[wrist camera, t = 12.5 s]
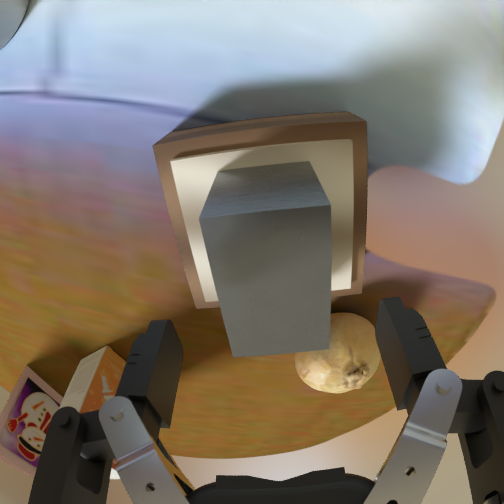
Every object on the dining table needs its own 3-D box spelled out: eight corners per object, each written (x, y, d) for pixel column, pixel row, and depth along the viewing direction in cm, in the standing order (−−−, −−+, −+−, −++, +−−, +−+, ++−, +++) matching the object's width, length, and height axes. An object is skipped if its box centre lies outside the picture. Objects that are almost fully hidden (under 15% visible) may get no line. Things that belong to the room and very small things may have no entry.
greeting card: (81, 409, 42) (54, 487, 29) (58, 411, 44) (32, 481, 31) (29, 364, 36) (-11, 445, 24) (10, 370, 38) (-26, 441, 26)
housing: (217, 170, 17) (198, 218, 12) (309, 161, 17) (330, 204, 12) (242, 301, 22) (236, 370, 17) (315, 294, 22) (328, 363, 17)
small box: (157, 383, 35) (134, 480, 24) (127, 394, 37) (102, 479, 26) (106, 343, 32) (66, 443, 21) (79, 358, 34) (42, 446, 23)
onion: (361, 356, 32) (374, 411, 26) (288, 357, 32) (291, 416, 26) (382, 299, 28) (405, 358, 22) (297, 299, 28) (304, 362, 22)
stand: (170, 132, 20) (149, 147, 17) (348, 111, 19) (369, 122, 16) (204, 276, 27) (195, 313, 23) (350, 262, 26) (363, 297, 22)
